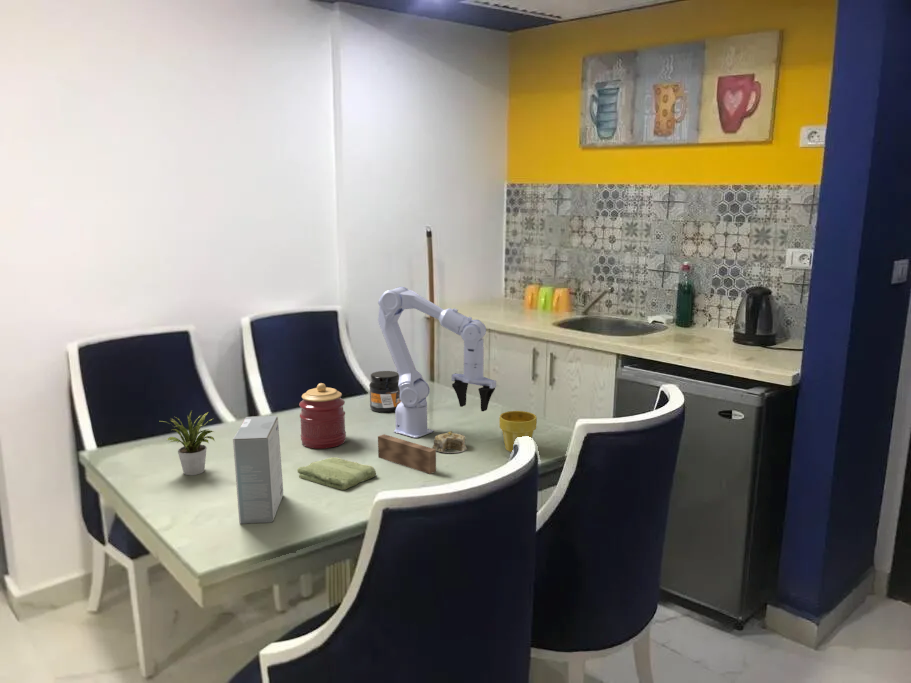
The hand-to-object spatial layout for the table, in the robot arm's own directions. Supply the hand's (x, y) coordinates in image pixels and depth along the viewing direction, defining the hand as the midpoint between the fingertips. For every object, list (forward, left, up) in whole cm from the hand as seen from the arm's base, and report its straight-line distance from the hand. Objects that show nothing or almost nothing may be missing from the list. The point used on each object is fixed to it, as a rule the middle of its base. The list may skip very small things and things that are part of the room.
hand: (473, 408), depth 214 cm
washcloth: (-9, -45, -10) cm, 47 cm away
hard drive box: (-7, -69, -10) cm, 70 cm away
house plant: (-40, -68, -10) cm, 79 cm away
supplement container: (-42, +5, -10) cm, 43 cm away
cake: (0, -10, -10) cm, 14 cm away
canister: (-32, -30, -10) cm, 45 cm away
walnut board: (-1, -27, -9) cm, 29 cm away
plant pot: (+15, +1, -10) cm, 18 cm away
